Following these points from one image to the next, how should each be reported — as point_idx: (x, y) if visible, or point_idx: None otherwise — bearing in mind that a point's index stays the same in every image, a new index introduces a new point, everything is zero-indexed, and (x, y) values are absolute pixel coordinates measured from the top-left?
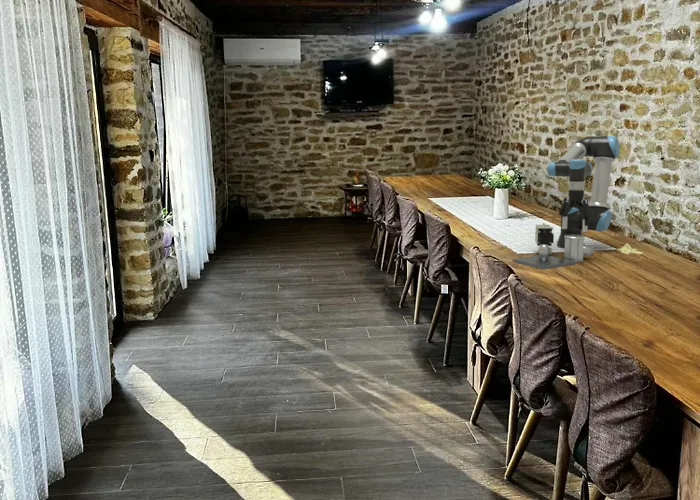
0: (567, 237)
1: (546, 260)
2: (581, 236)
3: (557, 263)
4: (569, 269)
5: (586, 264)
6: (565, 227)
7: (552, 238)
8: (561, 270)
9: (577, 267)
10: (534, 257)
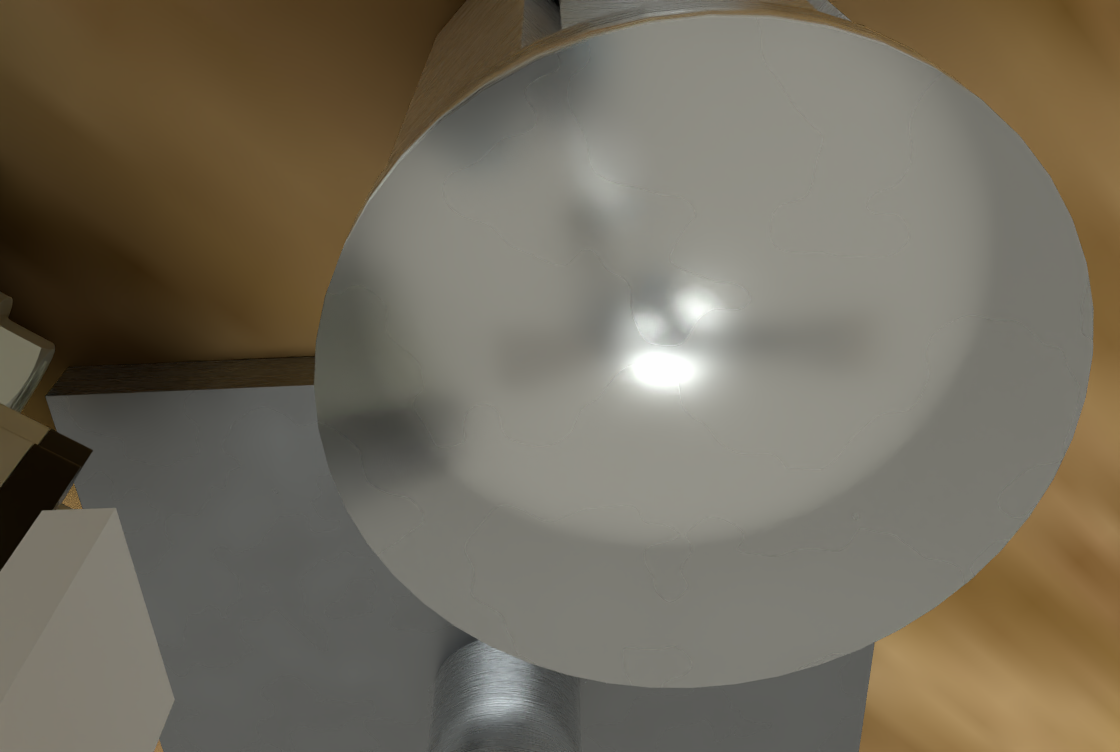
0: (695, 676)
1: (580, 694)
2: (931, 254)
3: (833, 682)
4: (1079, 639)
5: (1055, 171)
6: (119, 647)
7: None
8: (1036, 745)
9: (1086, 470)
10: (248, 674)
